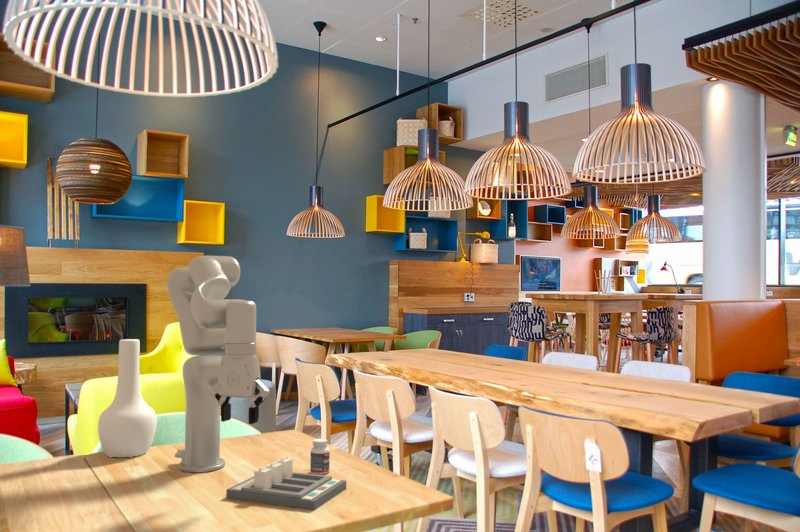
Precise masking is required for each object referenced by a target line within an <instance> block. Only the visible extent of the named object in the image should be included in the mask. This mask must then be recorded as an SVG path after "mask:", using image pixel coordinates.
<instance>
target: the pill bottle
mask: <svg viewBox="0 0 800 532" xmlns="http://www.w3.org/2000/svg"><path fill="white" fill-rule="evenodd" d="M312 446H313V447H312V448H311V449H310V466H309V467H310V469H309V471H310V474H315V475H324V476H325V475H327V474H328V473H330V452H331V451H330V448H329V447H327V446H328V439H326V438H315V439H313V440H312Z"/></svg>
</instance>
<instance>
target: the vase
mask: <svg viewBox="0 0 800 532" xmlns="http://www.w3.org/2000/svg"><path fill="white" fill-rule="evenodd" d="M140 348H141V344H140V339H138V338H135V339H134V338H133V339H132V338H127V339H126V338H125V339H120V340H119V342H118V367H117V368H118V371H117V373H118V374H117V385H116V390H115V396H114V398H113V400H112V402H111V403H110V404H109V406H108V407H107V408H106V409H105V410H103V411H102V412H101V414H100V415H99V418H98V421H97V422H98V423H97V431H98V432H97V433H98V437H99V439H98V440H99V442H100V445H101V448H102V450H103V452H104V453H105V455H106V456H107V457H108V456H111V457H130V458H132V457H131V456H136V457H139V456H138V455H140V456H143V455H145V454H147V453H148V451H149V450H150V448H151V446H152V444H153V442H154V439H155V435H156V432H157V425H158V422H157V421H158V418H157V414H156V412H155V410H154V408H152V406H149V405H148V404H147V402H146V401H145V400H144V398H143V395H142V392H141V382H140V381H141V380H140V376H141V375H140V353H141V349H140ZM146 452H147V453H146ZM144 453H145V454H144ZM142 454H143V455H142ZM111 457H110V458H111Z"/></svg>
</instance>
